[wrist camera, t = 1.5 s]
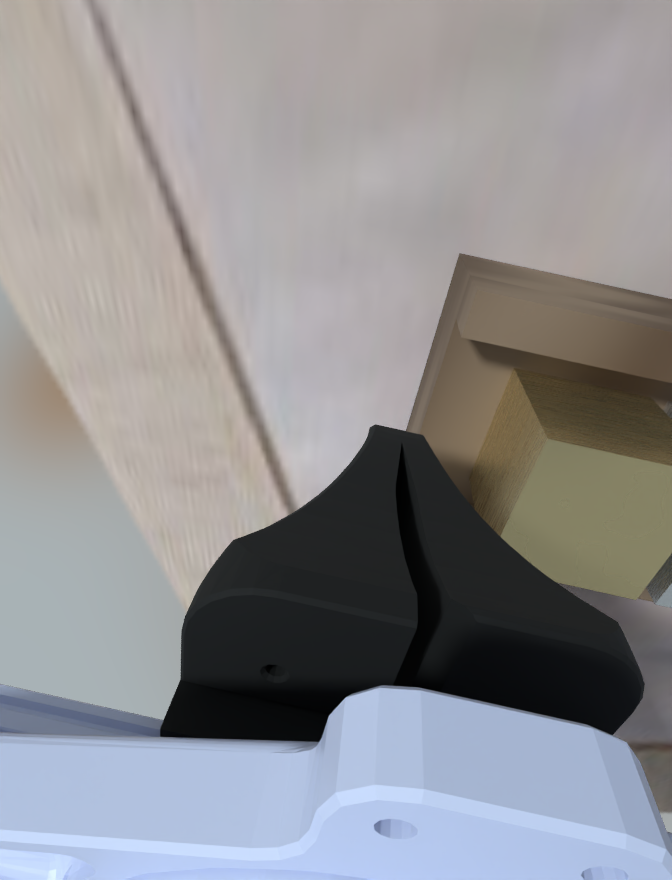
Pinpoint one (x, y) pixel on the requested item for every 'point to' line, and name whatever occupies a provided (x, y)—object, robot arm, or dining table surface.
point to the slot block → (532, 350)
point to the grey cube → (663, 566)
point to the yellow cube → (579, 481)
